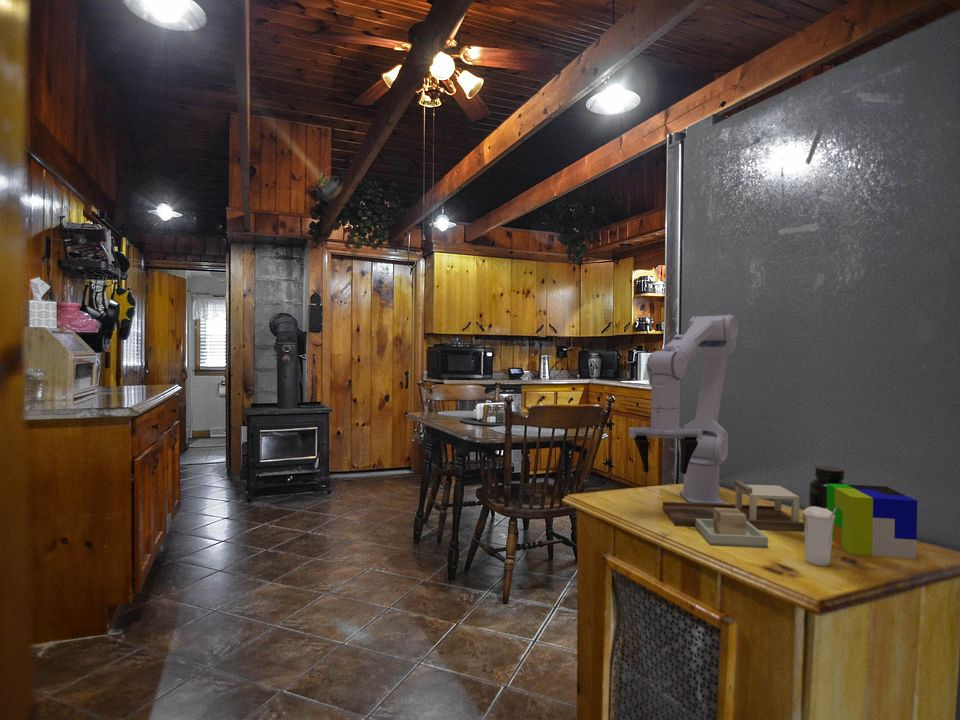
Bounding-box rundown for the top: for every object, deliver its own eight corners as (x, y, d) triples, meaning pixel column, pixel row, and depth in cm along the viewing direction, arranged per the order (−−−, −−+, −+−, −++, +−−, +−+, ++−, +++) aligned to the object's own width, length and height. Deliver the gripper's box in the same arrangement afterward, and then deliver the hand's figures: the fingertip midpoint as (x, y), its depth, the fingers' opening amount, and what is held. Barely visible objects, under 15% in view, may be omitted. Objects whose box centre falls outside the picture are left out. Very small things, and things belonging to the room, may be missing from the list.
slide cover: (732, 507, 118) (733, 479, 118) (779, 509, 117) (779, 481, 116) (748, 520, 109) (749, 489, 109) (798, 522, 108) (799, 491, 108)
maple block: (713, 530, 105) (713, 507, 105) (737, 531, 104) (737, 508, 104) (720, 538, 101) (721, 514, 101) (745, 539, 100) (746, 515, 100)
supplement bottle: (803, 528, 108) (804, 468, 108) (812, 520, 113) (814, 463, 113) (844, 536, 103) (845, 473, 103) (852, 528, 108) (853, 468, 108)
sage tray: (695, 527, 108) (695, 518, 108) (747, 529, 107) (747, 520, 107) (710, 544, 98) (710, 535, 98) (767, 547, 97) (767, 537, 97)
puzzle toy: (916, 559, 92) (917, 500, 92) (850, 554, 94) (851, 497, 94) (885, 539, 102) (886, 486, 102) (826, 535, 104) (827, 483, 104)
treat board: (662, 508, 121) (662, 501, 121) (779, 513, 118) (779, 506, 118) (675, 525, 109) (675, 517, 109) (805, 531, 106) (805, 523, 106)
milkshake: (823, 571, 87) (824, 508, 86) (795, 559, 92) (796, 499, 92) (845, 568, 88) (846, 506, 88) (816, 556, 93) (817, 498, 93)
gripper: (633, 409, 111) (632, 475, 112) (707, 410, 110) (706, 477, 110) (627, 405, 118) (627, 468, 119) (697, 407, 117) (696, 470, 117)
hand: (664, 472), depth 115 cm, fingers open, 7 cm apart
